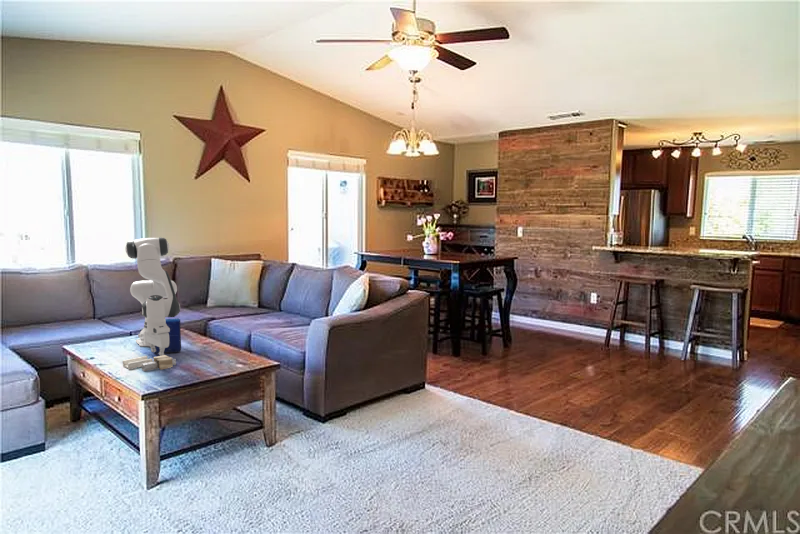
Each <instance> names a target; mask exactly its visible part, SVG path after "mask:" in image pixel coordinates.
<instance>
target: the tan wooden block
mask: <svg viewBox="0 0 800 534" xmlns="http://www.w3.org/2000/svg"><path fill="white" fill-rule="evenodd" d="M172 358H173V357H171V356H169V355H166V354H164V355H162V356H161V355H158V356H153V358H152V359H153V361H159V370H161V371H163V370H165V369H166V370H167V369H171V367H172V368H173V367H174V366H173V365H172Z"/></svg>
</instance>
